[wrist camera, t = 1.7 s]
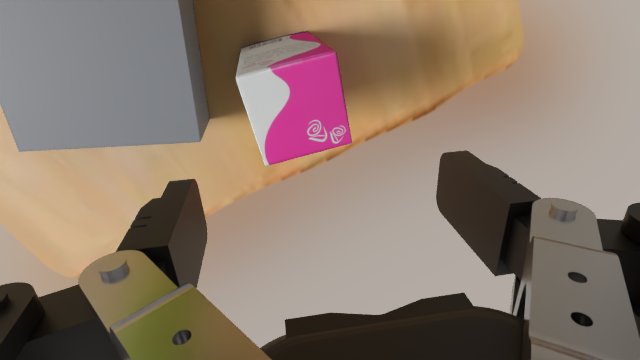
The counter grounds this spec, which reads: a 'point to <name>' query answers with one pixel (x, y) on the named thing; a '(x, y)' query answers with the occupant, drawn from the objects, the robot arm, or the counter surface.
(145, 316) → the robot arm
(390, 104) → the counter surface
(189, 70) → the stacking block
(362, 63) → the counter surface
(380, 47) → the counter surface
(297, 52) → the supplement box
